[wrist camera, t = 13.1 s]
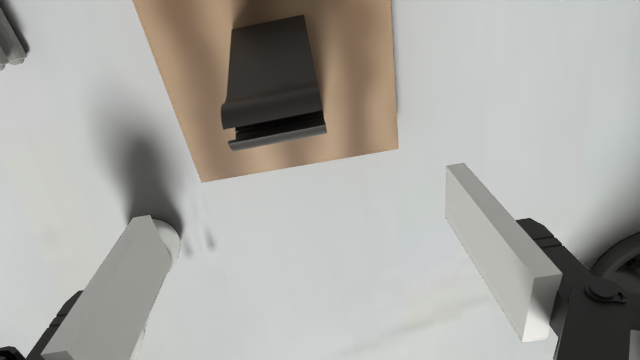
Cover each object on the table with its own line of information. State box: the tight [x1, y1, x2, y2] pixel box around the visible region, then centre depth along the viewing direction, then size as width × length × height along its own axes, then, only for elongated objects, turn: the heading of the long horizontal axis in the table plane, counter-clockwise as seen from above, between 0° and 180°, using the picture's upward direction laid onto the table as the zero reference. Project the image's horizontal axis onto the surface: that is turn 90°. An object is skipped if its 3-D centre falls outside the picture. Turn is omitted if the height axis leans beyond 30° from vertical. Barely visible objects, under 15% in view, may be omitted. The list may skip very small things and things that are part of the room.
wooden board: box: [132, 0, 399, 182], centre depth 33 cm, size 20×18×4 cm
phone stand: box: [221, 15, 327, 151], centre depth 26 cm, size 9×6×12 cm, turn 10°
